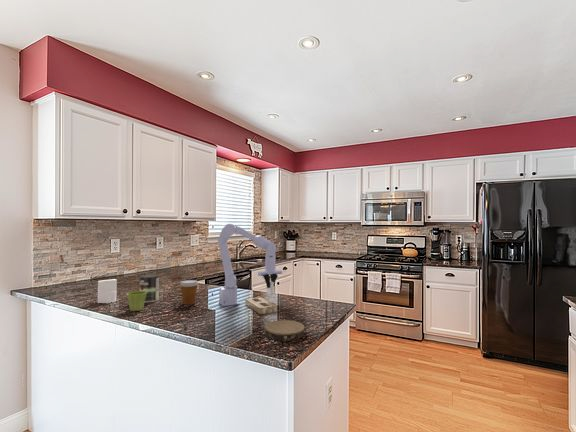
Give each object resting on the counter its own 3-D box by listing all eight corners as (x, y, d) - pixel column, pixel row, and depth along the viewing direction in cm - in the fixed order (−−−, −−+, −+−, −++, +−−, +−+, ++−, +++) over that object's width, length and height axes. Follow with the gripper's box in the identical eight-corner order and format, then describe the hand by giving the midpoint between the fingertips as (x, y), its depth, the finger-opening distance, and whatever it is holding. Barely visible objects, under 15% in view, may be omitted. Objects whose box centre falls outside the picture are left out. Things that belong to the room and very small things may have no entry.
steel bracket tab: (270, 294, 166) (270, 282, 166) (266, 293, 170) (266, 280, 171) (273, 294, 167) (273, 282, 167) (269, 292, 171) (270, 280, 172)
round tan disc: (309, 330, 124) (309, 323, 124) (295, 344, 109) (295, 336, 109) (275, 325, 130) (275, 318, 130) (257, 337, 116) (257, 329, 116)
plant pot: (121, 311, 149) (122, 293, 149) (137, 306, 158) (137, 290, 158) (135, 313, 146) (136, 295, 146) (150, 308, 155) (151, 291, 155)
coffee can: (148, 303, 164) (148, 277, 165) (134, 301, 168) (135, 276, 169) (162, 299, 174) (163, 274, 174) (149, 297, 178) (149, 273, 178)
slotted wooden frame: (260, 314, 145) (260, 308, 145) (245, 304, 162) (245, 299, 163) (276, 311, 149) (276, 305, 149) (260, 302, 167) (260, 297, 167)
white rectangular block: (99, 304, 162) (99, 282, 162) (96, 301, 168) (96, 280, 169) (117, 301, 168) (118, 280, 168) (114, 298, 174) (114, 278, 175)
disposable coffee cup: (187, 306, 159) (187, 283, 159) (176, 303, 164) (176, 281, 164) (201, 302, 167) (201, 280, 167) (190, 300, 172) (190, 279, 172)
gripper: (261, 265, 162) (261, 290, 162) (284, 263, 169) (284, 287, 169) (256, 263, 168) (256, 287, 168) (279, 262, 175) (279, 285, 175)
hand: (270, 287), depth 169 cm, fingers closed on steel bracket tab, 2 cm apart
